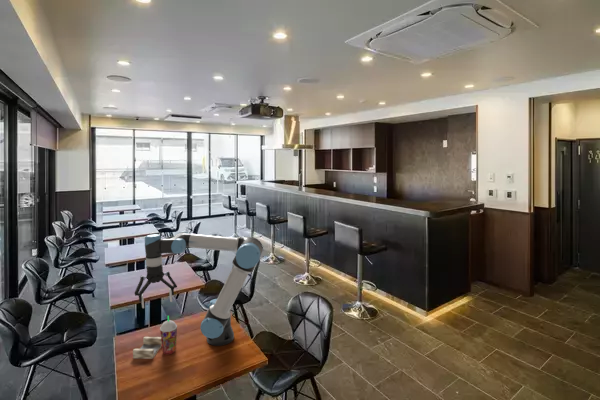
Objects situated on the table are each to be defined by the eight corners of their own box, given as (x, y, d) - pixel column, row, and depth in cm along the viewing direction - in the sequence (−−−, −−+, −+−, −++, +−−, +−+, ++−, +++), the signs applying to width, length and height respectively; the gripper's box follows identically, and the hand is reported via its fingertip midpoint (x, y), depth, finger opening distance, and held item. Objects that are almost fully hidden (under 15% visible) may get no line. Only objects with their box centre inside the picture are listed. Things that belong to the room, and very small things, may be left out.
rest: (163, 344, 184) (162, 337, 184) (152, 358, 171) (152, 350, 171) (144, 344, 184) (144, 336, 184) (133, 358, 171) (132, 350, 171)
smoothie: (172, 357, 173) (170, 320, 170) (157, 355, 175) (156, 318, 172) (180, 348, 181) (179, 313, 179) (166, 346, 183) (165, 311, 180)
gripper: (178, 258, 181) (180, 296, 184) (126, 267, 169) (130, 307, 172) (181, 262, 175) (183, 301, 178) (127, 271, 162) (131, 312, 165)
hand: (157, 304), depth 175 cm, fingers open, 13 cm apart
